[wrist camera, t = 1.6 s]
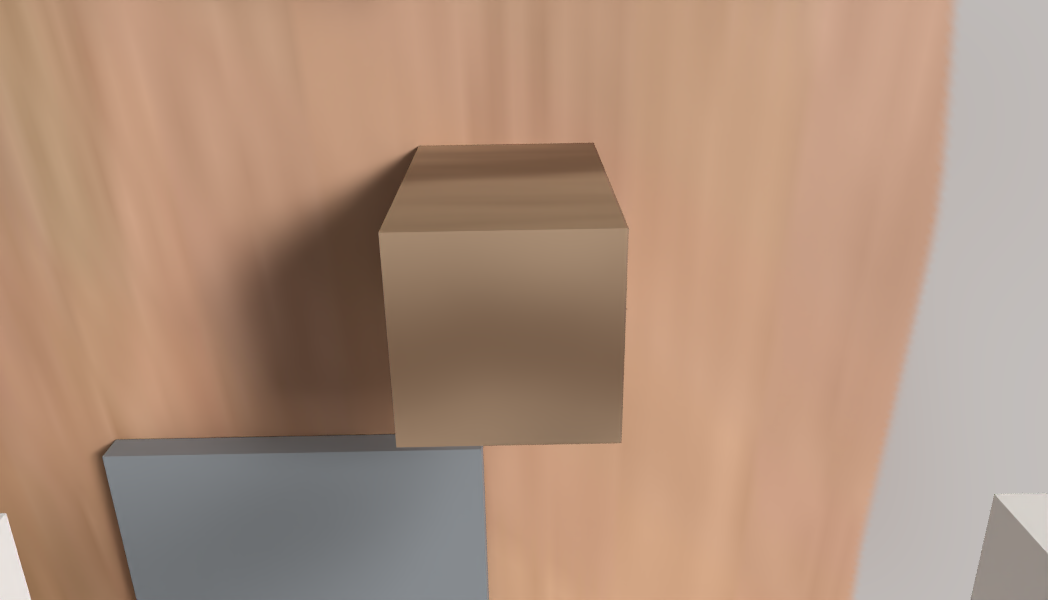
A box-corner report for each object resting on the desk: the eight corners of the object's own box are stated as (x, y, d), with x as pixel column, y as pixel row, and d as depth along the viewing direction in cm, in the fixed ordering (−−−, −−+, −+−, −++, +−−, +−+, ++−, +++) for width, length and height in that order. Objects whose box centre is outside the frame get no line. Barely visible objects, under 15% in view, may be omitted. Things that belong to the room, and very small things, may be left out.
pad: (115, 439, 28) (102, 456, 27) (482, 432, 28) (481, 449, 27) (178, 710, 33) (168, 732, 32) (492, 703, 33) (492, 726, 32)
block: (419, 145, 24) (378, 232, 17) (593, 142, 24) (628, 228, 17) (429, 306, 26) (396, 447, 19) (591, 303, 26) (621, 443, 19)
